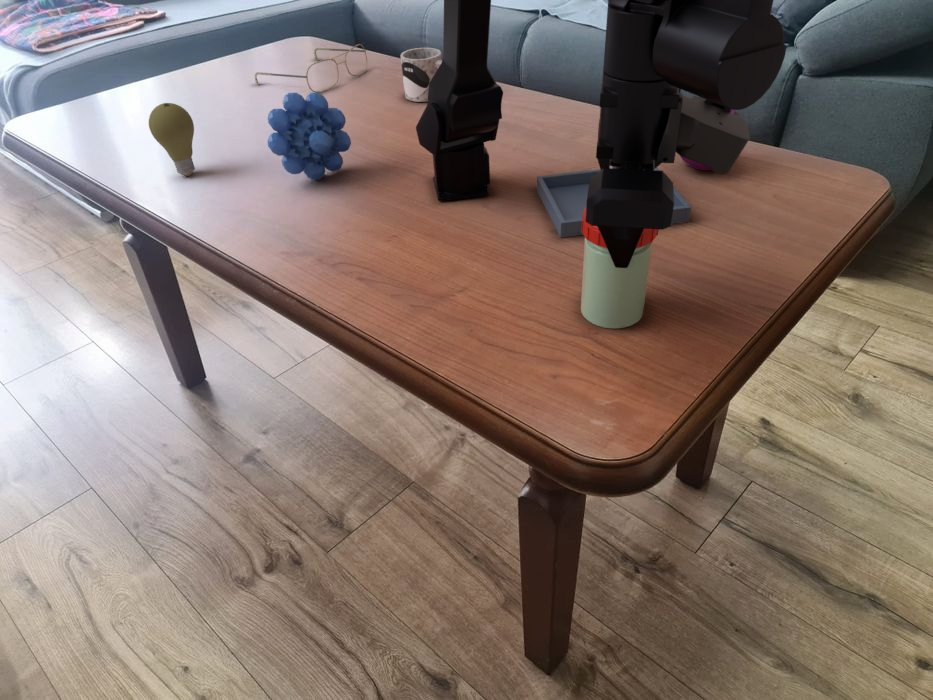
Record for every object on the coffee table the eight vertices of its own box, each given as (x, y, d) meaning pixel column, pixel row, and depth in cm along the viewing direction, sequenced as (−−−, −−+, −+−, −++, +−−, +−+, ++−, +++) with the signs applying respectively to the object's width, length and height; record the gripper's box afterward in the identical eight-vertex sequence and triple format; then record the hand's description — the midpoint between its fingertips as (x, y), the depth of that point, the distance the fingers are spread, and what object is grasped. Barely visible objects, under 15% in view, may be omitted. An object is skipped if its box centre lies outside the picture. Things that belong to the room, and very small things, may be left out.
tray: (560, 237, 77) (560, 223, 76) (536, 190, 87) (536, 176, 85) (688, 221, 78) (691, 207, 77) (651, 176, 88) (653, 162, 87)
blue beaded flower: (296, 204, 87) (274, 111, 80) (271, 187, 91) (248, 98, 84) (371, 174, 93) (357, 85, 85) (344, 160, 97) (329, 74, 89)
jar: (590, 332, 64) (596, 246, 58) (573, 296, 68) (577, 212, 62) (652, 324, 64) (665, 237, 58) (631, 288, 69) (641, 203, 63)
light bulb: (216, 169, 97) (195, 99, 91) (189, 186, 93) (164, 113, 87) (187, 164, 99) (163, 94, 93) (159, 180, 95) (132, 109, 89)
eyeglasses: (316, 96, 118) (310, 67, 115) (256, 85, 125) (249, 56, 122) (374, 69, 128) (370, 41, 125) (315, 59, 135) (310, 32, 132)
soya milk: (397, 97, 115) (392, 56, 111) (421, 85, 119) (417, 45, 115) (444, 107, 110) (441, 65, 106) (467, 94, 114) (465, 53, 110)
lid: (667, 222, 61) (670, 205, 60) (641, 257, 57) (643, 239, 56) (599, 208, 64) (600, 191, 63) (569, 239, 60) (570, 222, 59)
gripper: (770, 119, 43) (724, 316, 53) (741, 33, 57) (709, 202, 67) (591, 115, 45) (579, 305, 55) (606, 33, 59) (594, 197, 69)
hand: (622, 247), depth 61 cm, fingers closed on lid, 6 cm apart
